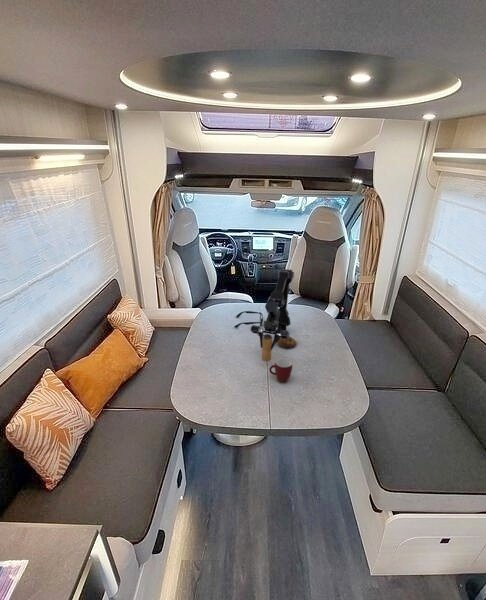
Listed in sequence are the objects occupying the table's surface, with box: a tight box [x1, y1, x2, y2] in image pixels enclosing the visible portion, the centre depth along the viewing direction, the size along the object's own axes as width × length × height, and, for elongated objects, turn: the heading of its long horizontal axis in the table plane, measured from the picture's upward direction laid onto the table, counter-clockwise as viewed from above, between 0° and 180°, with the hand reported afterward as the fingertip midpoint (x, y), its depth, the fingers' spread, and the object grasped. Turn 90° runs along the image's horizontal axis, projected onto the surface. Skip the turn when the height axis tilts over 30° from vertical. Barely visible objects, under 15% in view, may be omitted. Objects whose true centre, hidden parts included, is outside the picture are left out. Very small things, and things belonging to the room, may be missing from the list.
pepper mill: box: [261, 333, 273, 362], centre depth 153 cm, size 5×5×13 cm
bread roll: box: [276, 335, 297, 349], centre depth 178 cm, size 11×11×5 cm
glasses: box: [234, 310, 264, 329], centre depth 200 cm, size 17×18×5 cm
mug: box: [268, 357, 293, 383], centre depth 146 cm, size 10×8×10 cm
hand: (266, 348), depth 152 cm, fingers closed on pepper mill, 5 cm apart
